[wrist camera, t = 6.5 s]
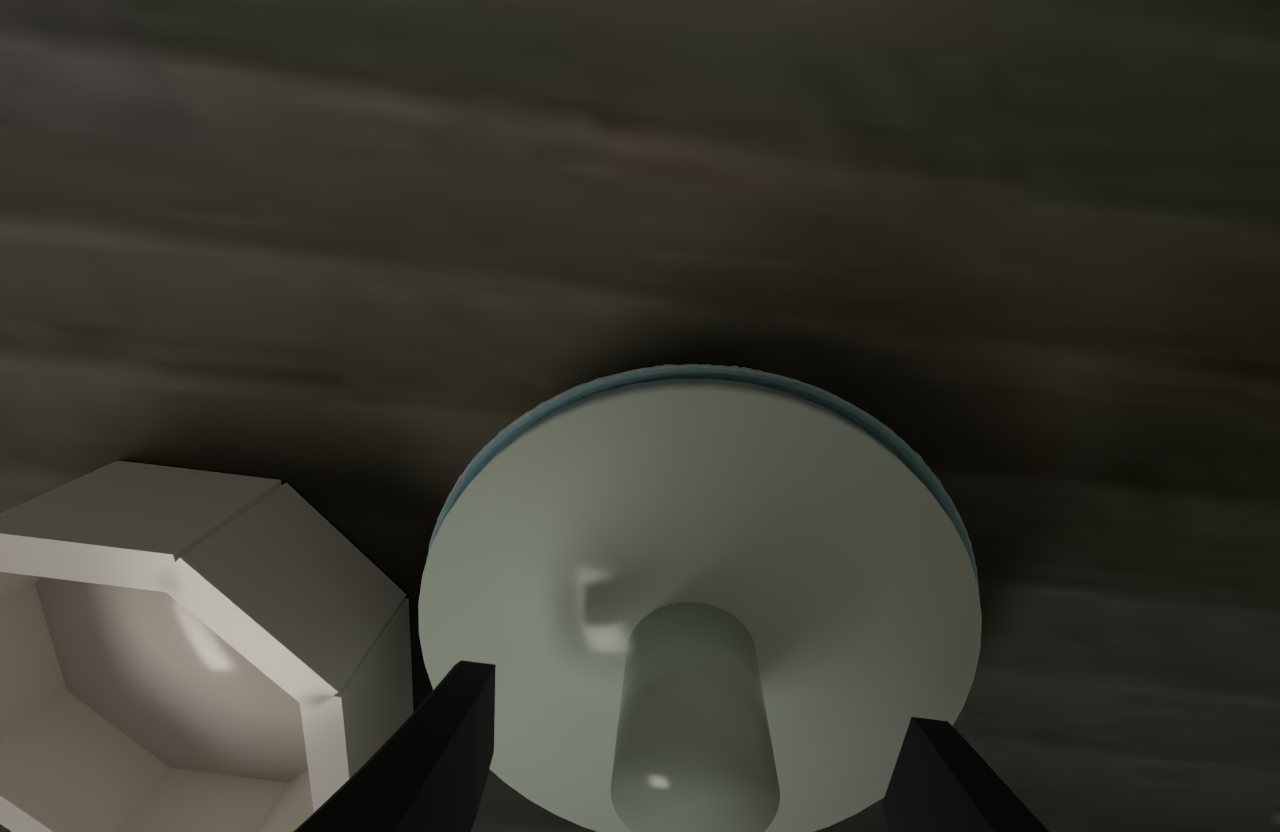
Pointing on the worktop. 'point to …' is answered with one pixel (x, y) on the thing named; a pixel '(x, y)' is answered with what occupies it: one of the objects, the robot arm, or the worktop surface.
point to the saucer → (723, 373)
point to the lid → (702, 609)
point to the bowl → (188, 655)
